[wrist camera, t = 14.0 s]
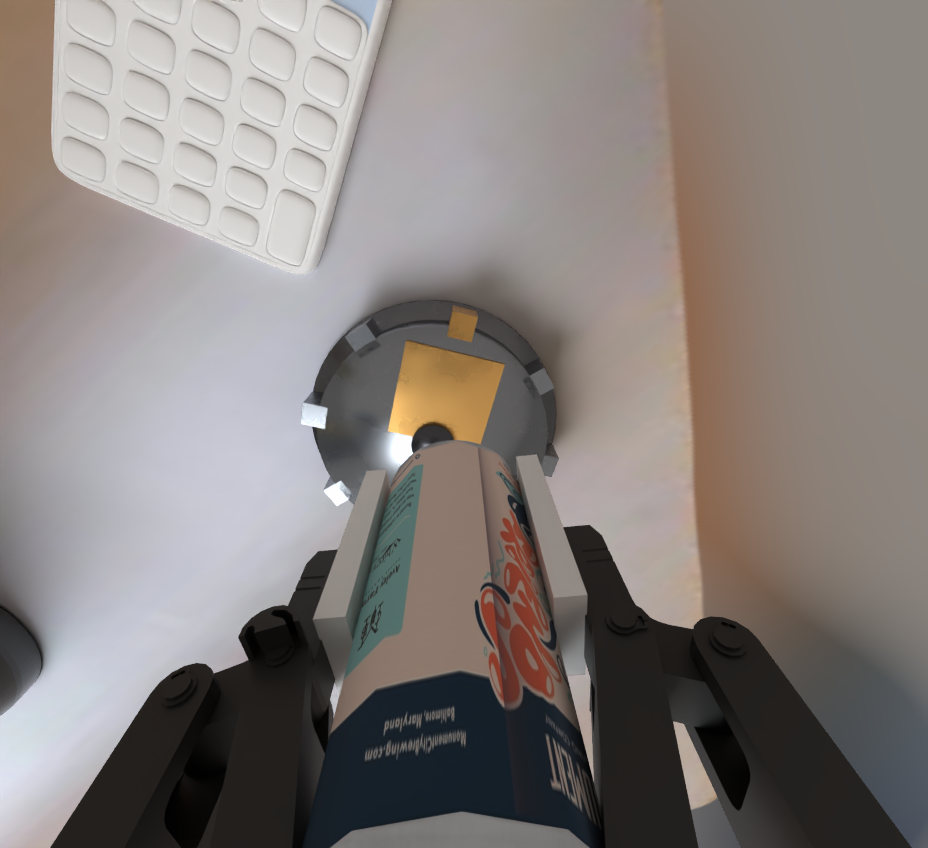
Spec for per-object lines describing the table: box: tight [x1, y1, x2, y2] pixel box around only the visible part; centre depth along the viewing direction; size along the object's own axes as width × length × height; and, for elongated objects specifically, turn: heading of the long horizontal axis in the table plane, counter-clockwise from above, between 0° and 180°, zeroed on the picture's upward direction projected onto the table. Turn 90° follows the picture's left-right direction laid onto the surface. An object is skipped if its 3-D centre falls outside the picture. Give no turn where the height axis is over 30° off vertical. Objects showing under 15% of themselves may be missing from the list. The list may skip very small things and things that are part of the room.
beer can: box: [302, 440, 603, 848], centre depth 11 cm, size 5×5×12 cm
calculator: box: [51, 0, 392, 275], centre depth 19 cm, size 13×20×2 cm, turn 157°
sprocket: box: [301, 305, 559, 506], centre depth 24 cm, size 16×16×8 cm
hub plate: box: [312, 300, 556, 454], centre depth 28 cm, size 16×16×1 cm
